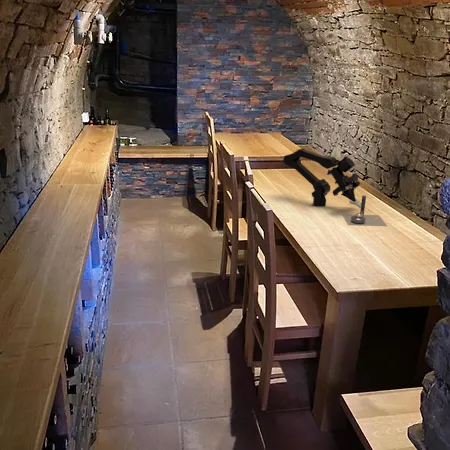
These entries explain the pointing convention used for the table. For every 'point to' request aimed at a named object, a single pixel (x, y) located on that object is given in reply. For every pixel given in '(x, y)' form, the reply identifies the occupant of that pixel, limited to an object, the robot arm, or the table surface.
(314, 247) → the table surface
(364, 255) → the table surface
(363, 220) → the crank handle
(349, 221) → the level stand
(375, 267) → the table surface
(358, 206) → the adjustable wrench
